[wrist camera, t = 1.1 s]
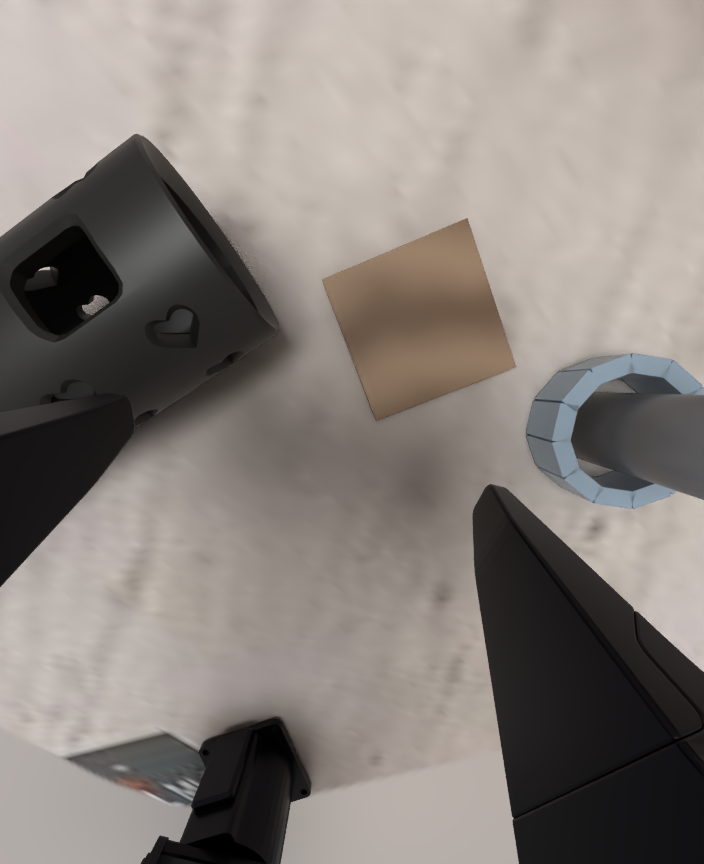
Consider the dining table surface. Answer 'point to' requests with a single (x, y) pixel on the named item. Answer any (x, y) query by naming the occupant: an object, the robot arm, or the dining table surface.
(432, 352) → the mat
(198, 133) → the dining table surface
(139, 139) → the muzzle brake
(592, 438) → the plug
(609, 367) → the collar
